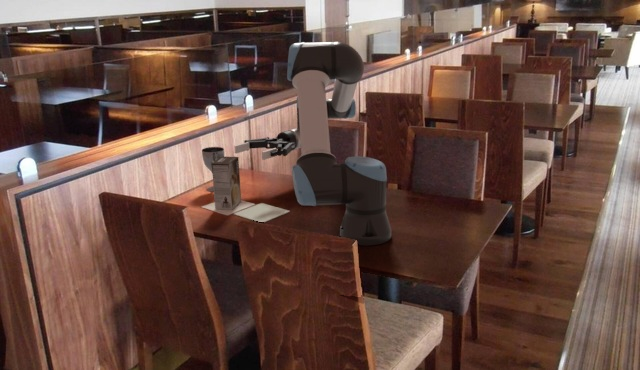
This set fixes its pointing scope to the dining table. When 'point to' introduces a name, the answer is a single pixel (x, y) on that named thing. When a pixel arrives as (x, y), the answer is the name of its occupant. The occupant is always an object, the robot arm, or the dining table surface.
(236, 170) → the coffee box
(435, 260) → the dining table surface
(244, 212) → the set down mat
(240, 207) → the tile
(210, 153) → the wine glass
